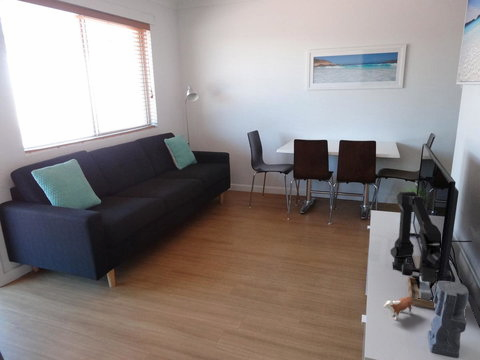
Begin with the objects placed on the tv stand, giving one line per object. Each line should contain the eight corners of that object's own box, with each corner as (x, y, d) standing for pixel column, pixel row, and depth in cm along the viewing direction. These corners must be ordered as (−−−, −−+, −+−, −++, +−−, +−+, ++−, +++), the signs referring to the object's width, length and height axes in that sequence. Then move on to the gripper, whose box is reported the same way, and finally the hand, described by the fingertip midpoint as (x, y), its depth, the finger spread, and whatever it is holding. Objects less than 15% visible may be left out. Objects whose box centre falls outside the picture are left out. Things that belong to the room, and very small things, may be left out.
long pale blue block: (417, 283, 160) (418, 275, 158) (426, 285, 158) (427, 277, 157) (420, 300, 148) (421, 292, 147) (429, 302, 147) (431, 294, 145)
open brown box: (407, 282, 164) (408, 276, 163) (434, 286, 160) (435, 281, 159) (410, 304, 148) (410, 298, 148) (440, 309, 144) (441, 303, 144)
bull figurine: (380, 316, 142) (382, 299, 139) (406, 308, 146) (408, 291, 144) (388, 323, 138) (390, 305, 135) (415, 314, 142) (417, 297, 140)
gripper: (404, 263, 145) (400, 296, 150) (456, 271, 138) (451, 305, 143) (403, 251, 155) (399, 282, 159) (452, 257, 148) (446, 289, 153)
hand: (423, 289), depth 153 cm, fingers closed on long pale blue block, 3 cm apart
